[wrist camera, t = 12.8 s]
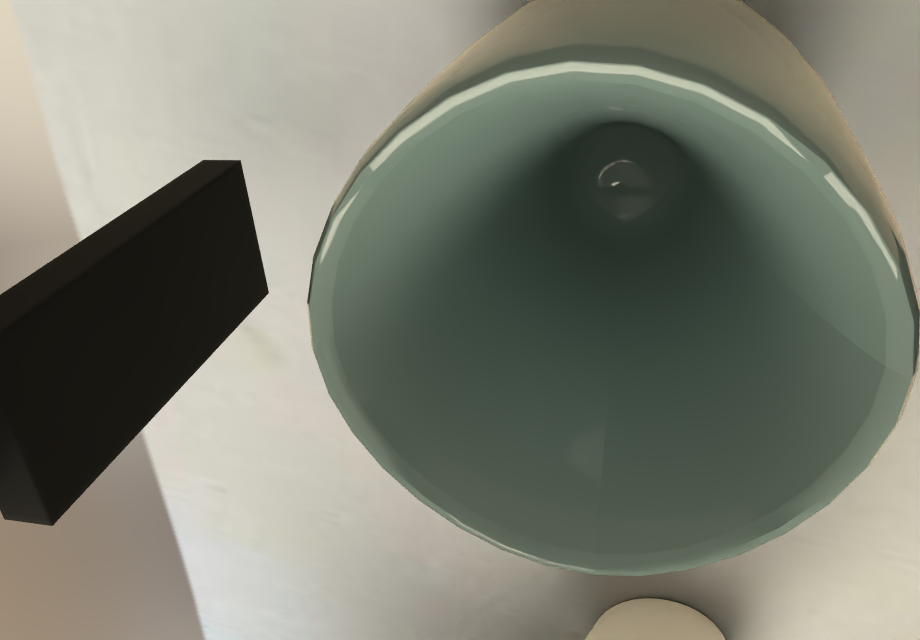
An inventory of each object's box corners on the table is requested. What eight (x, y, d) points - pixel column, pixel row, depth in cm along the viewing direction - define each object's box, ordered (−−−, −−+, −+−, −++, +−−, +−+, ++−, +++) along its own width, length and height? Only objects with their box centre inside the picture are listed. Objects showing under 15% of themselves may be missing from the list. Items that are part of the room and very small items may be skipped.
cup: (902, 119, 17) (1081, 382, 9) (638, 334, 22) (597, 650, 13) (634, -144, 16) (561, -119, 8) (410, 136, 20) (209, 347, 12)
